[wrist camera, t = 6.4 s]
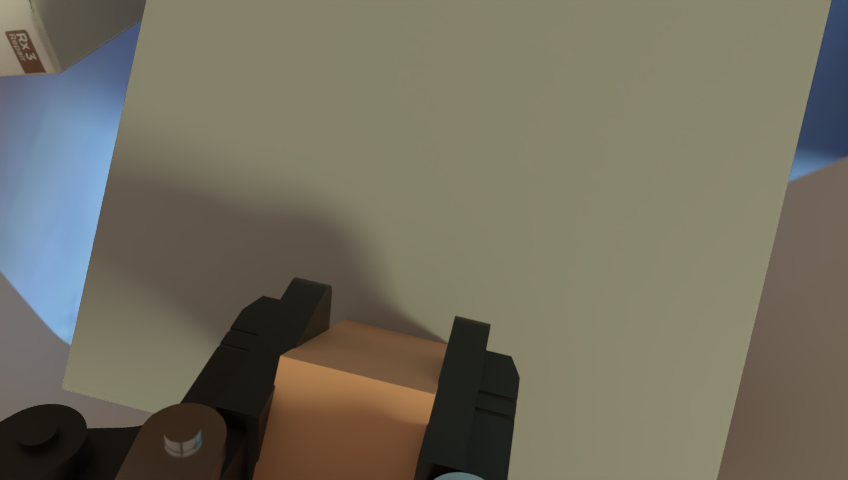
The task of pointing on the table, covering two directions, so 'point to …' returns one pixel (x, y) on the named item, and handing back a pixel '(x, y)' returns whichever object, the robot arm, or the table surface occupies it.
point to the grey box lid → (454, 217)
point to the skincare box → (59, 32)
